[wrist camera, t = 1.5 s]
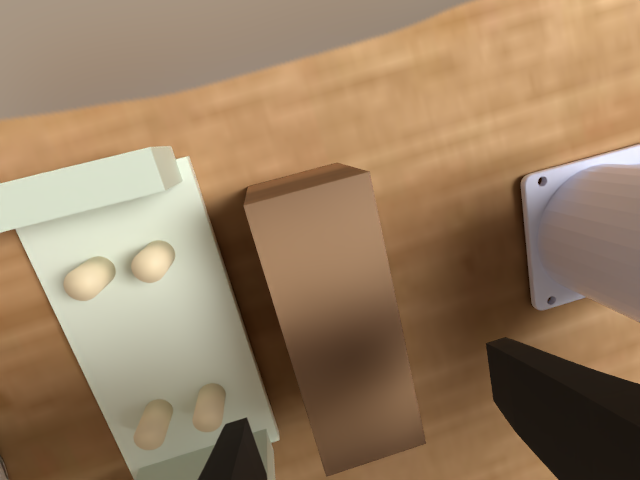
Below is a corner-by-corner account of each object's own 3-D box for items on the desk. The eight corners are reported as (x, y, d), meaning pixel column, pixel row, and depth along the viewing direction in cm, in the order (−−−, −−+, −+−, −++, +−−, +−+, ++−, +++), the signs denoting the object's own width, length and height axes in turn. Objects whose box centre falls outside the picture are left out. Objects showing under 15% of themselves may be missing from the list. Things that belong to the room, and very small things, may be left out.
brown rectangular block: (248, 186, 19) (243, 205, 13) (336, 162, 19) (369, 171, 14) (308, 389, 22) (326, 476, 16) (383, 366, 23) (426, 443, 17)
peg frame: (5, 187, 17) (-71, 200, 13) (185, 143, 18) (163, 143, 14) (143, 484, 22) (118, 559, 18) (281, 440, 22) (286, 503, 19)
